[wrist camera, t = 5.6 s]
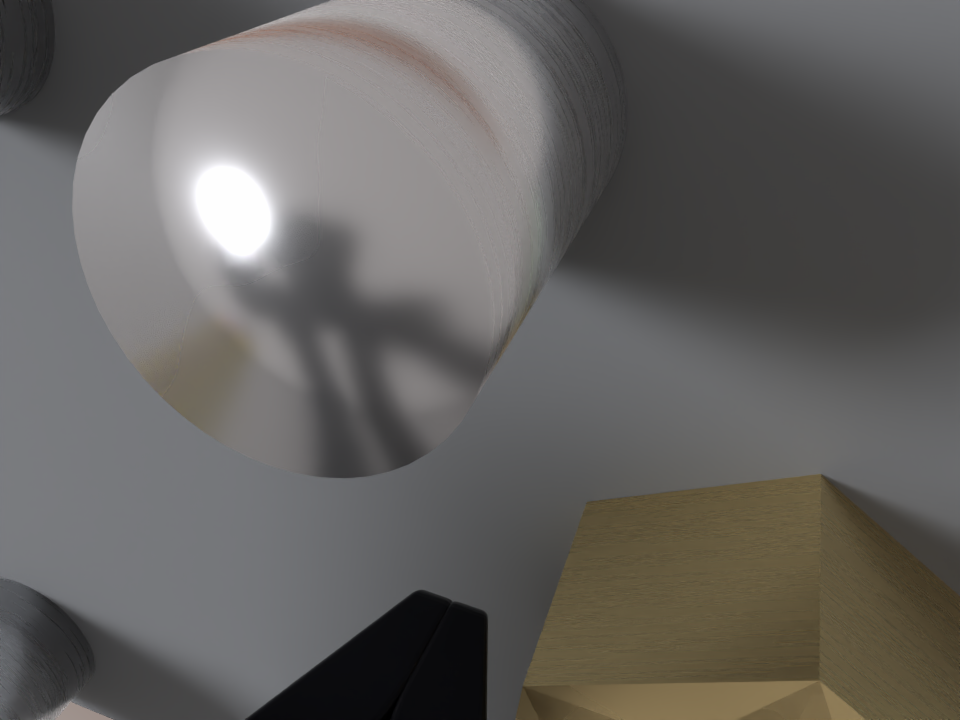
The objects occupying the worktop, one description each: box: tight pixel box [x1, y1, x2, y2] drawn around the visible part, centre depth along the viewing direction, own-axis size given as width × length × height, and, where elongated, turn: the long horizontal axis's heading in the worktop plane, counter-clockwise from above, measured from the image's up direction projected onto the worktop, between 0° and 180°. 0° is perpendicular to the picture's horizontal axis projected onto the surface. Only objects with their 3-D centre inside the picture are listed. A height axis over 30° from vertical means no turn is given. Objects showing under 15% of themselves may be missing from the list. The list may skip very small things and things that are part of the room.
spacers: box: [0, 0, 627, 720], centre depth 9 cm, size 14×12×4 cm
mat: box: [0, 0, 960, 720], centre depth 10 cm, size 23×13×1 cm, turn 83°
